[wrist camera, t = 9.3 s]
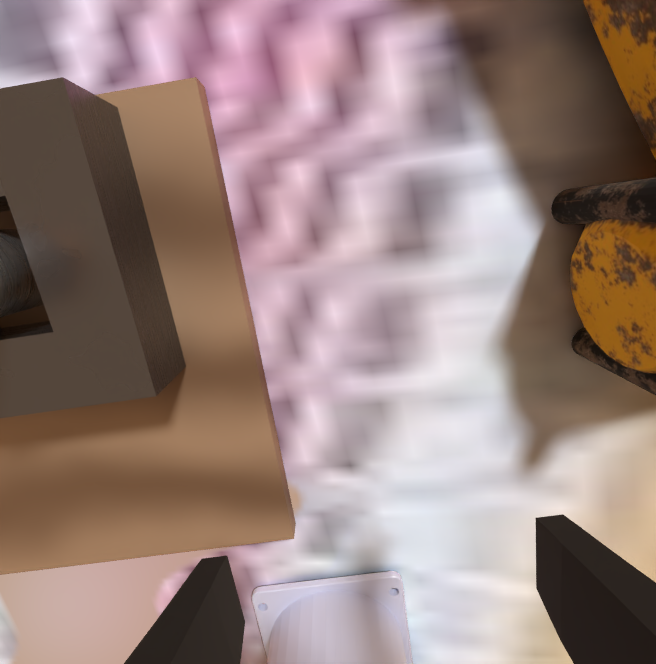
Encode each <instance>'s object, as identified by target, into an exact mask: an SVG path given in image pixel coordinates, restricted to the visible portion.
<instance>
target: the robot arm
mask: <svg viewBox="0 0 656 664" xmlns="http://www.w3.org/2000/svg"><path fill="white" fill-rule="evenodd" d="M536 585H537V590H538V593H539V595H540V597H541V599H542V601H543V604H544V606H545V608H546V610H547V612H548V615H549V617H550V619H551V621H552V623H553V625H554V627H555V629H556V632H557V634H558V636H559V638H560V640H561V642H562V644H563V645H564V647H565V649H566V651H567V652H568V654H569V656H570V658H571V659H572V661H573V663H574V664H656V583H655V582H654V581H653V580H651V579H650V578H648V577H647V576H646V575H644V574H643V573H642V572H640V571H639V570H637V569H636V568H635V567H633V566H632V565H630V564H629V563H628V562H626V561H625V560H624V559H622V558H621V557H620V556H618V555H617V554H616V553H614V552H613V551H611V550H610V549H609V548H607V547H606V546H605V545H603V544H602V543H601V542H599V541H598V540H597V539H595V538H594V537H593V536H591V535H590V534H589V533H587V532H586V531H585V530H583V529H582V528H581V527H579V526H578V525H577V524H575V523H574V522H572V521H571V520H570V519H568V518H567V517H566V516H564V515H556V516H548V517H540V518H536ZM392 588H395V589H392ZM252 602H253V606H254V610H255V614H256V618H257V622H258V625H259V629H260V633H261V637H262V641H263V645H264V648H265V652H266V656H267V664H413V662H412V654H411V646H410V638H409V630H408V622H407V614H406V607H405V599H404V591H403V583H402V578H401V575H400V574H399V573H398V572H395V571H387V572H378V573H370V574H361V575H353V576H345V577H336V578H328V579H319V580H311V581H302V582H294V583H286V584H277V585H269V586H260V587H257V588H256V589H254V591H253V594H252ZM262 603H265V604H262ZM244 626H245V620H244V616H243V612H242V609H241V605H240V601H239V598H238V594H237V590H236V587H235V583H234V579H233V576H232V572H231V568H230V565H229V561H228V557H227V556H221V557H213V558H204V559H201V561H200V562H199V563H198V565H197V566H196V567H195V569H194V570H193V571H192V573H191V574H190V575H189V577H188V578H187V579H186V581H185V582H184V584H183V585H182V586H181V588H180V589H179V591H178V592H177V593H176V595H175V596H174V597H173V599H172V600H171V602H170V603H169V604H168V606H167V607H166V608H165V610H164V611H163V612H162V614H161V615H160V617H159V618H158V619H157V621H156V622H155V623H154V625H153V626H152V627H151V629H150V630H149V631H148V632H147V634H146V635H145V636H144V638H143V639H142V640H141V642H140V643H139V644H138V646H137V647H136V649H135V650H134V651H133V652H132V654H131V655H130V656H129V658H128V659H127V660H126V662H125V663H124V664H240V659H241V652H242V643H243V635H244Z"/></svg>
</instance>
